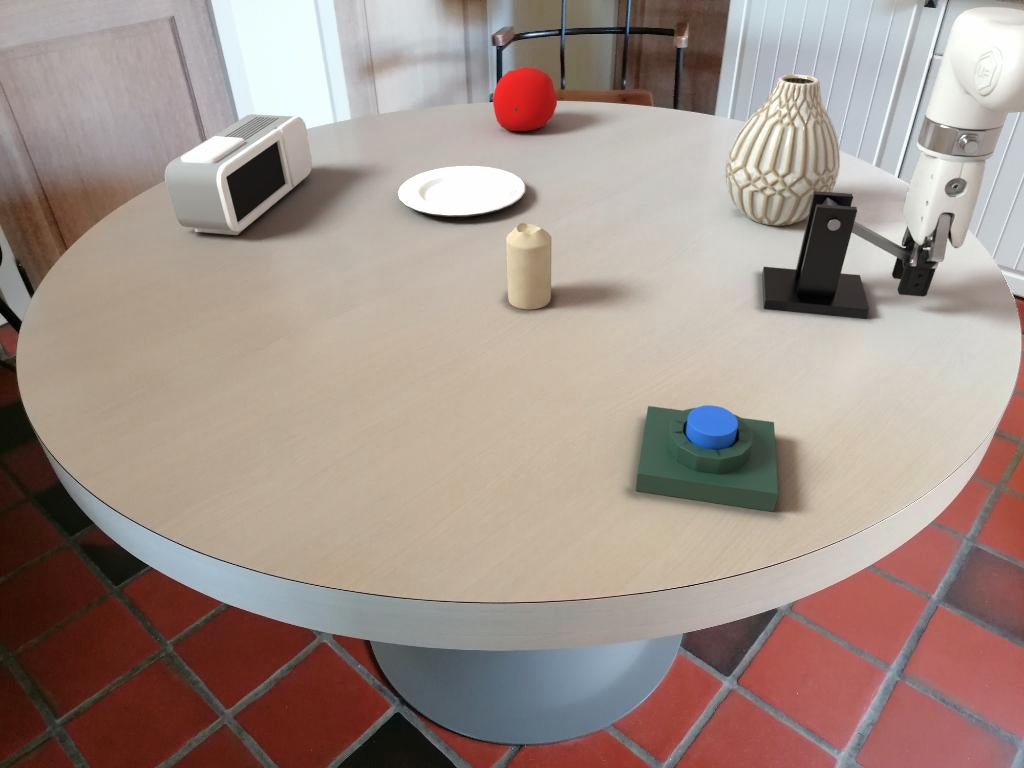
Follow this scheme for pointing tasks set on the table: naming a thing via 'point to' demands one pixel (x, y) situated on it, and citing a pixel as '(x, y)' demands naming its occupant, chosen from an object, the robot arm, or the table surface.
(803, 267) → the switch bracket
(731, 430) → the button
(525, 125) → the tomato
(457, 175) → the plate
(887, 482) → the table surface
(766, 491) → the switch box
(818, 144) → the vase
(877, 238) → the lever
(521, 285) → the candle
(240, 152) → the alarm clock
